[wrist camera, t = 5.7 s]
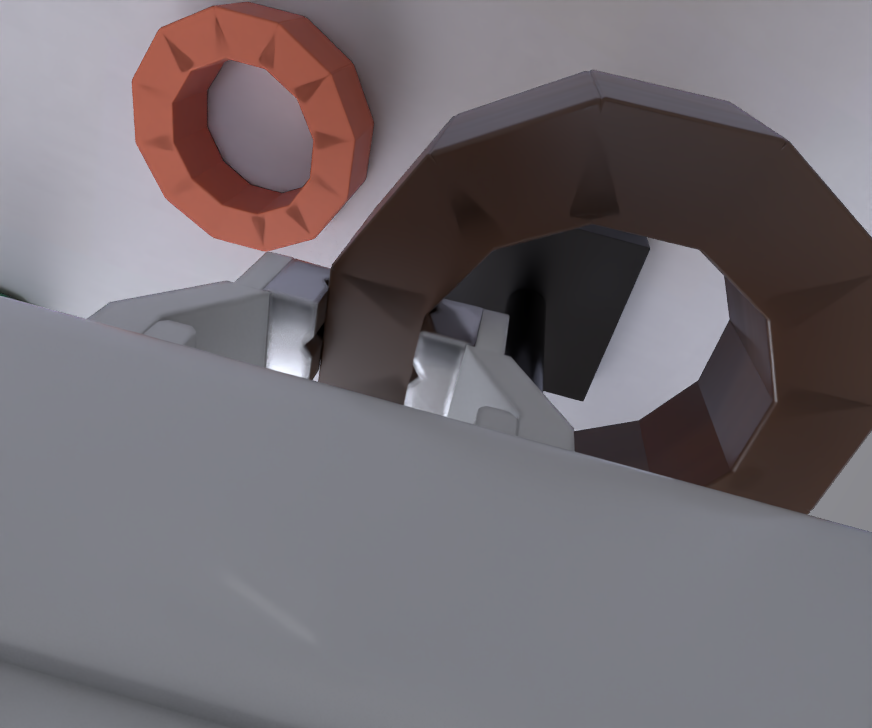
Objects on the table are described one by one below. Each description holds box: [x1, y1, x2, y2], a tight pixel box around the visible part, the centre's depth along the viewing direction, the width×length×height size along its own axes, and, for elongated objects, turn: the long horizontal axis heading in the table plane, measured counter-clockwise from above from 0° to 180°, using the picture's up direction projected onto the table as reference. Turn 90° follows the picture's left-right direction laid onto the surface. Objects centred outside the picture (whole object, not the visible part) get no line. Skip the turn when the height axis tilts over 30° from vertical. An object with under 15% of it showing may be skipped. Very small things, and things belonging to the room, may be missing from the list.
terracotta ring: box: [132, 2, 374, 251], centre depth 28 cm, size 10×10×3 cm
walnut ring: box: [318, 70, 872, 515], centre depth 13 cm, size 10×10×3 cm
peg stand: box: [444, 224, 650, 401], centre depth 27 cm, size 9×9×12 cm
